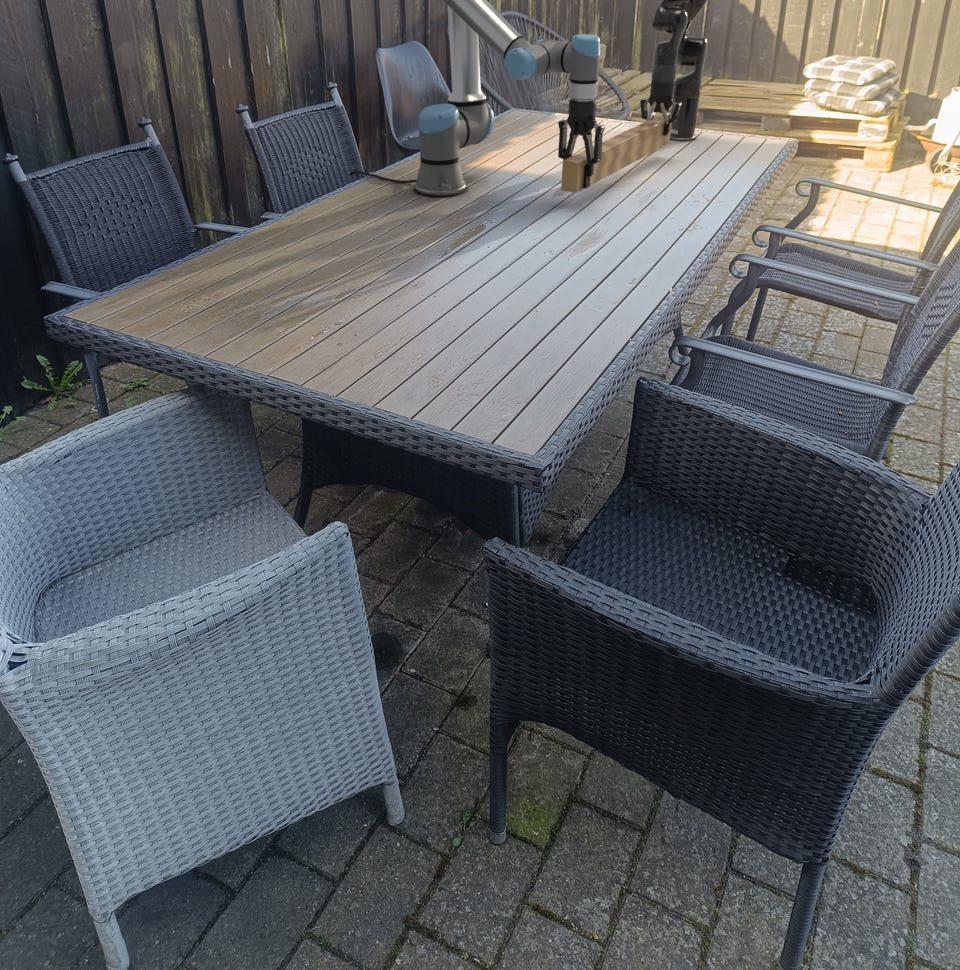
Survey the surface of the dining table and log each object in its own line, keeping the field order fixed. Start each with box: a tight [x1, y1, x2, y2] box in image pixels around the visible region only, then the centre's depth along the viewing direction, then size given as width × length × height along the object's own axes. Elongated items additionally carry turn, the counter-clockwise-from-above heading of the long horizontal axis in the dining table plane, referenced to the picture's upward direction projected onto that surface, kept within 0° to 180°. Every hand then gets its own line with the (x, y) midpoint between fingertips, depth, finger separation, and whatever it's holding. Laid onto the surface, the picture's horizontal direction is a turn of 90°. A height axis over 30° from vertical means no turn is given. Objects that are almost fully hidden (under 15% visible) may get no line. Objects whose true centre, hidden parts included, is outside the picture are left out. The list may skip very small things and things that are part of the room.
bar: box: [560, 115, 672, 194], centre depth 261 cm, size 68×5×8 cm, turn 147°
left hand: (577, 185), depth 243 cm, fingers closed on bar, 5 cm apart
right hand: (657, 134), depth 281 cm, fingers closed on bar, 5 cm apart
